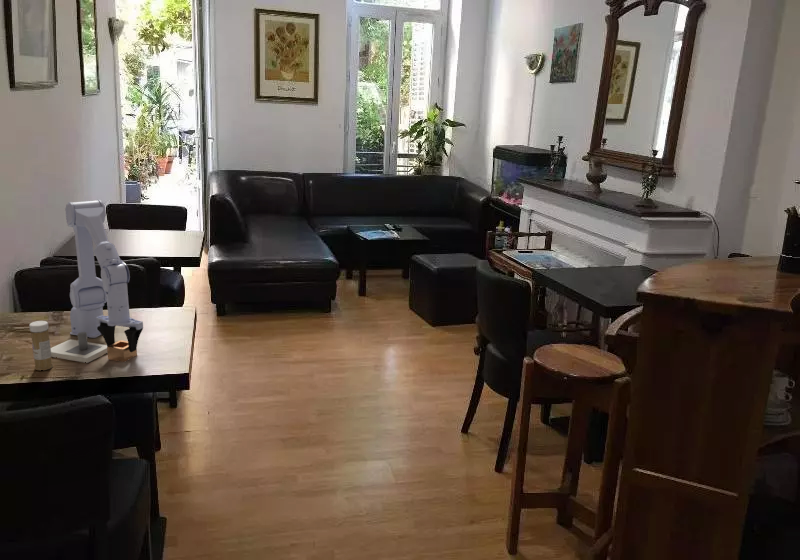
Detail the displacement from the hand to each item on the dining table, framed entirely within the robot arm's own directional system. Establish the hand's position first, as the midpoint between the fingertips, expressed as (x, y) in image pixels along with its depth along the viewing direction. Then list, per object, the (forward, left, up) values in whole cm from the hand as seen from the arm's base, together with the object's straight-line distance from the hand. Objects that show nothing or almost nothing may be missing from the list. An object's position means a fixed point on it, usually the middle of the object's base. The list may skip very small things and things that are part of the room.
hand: (122, 349), depth 193 cm
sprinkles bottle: (-15, -14, -3) cm, 21 cm away
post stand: (-14, -2, -3) cm, 14 cm away
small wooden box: (0, 0, -3) cm, 3 cm away
